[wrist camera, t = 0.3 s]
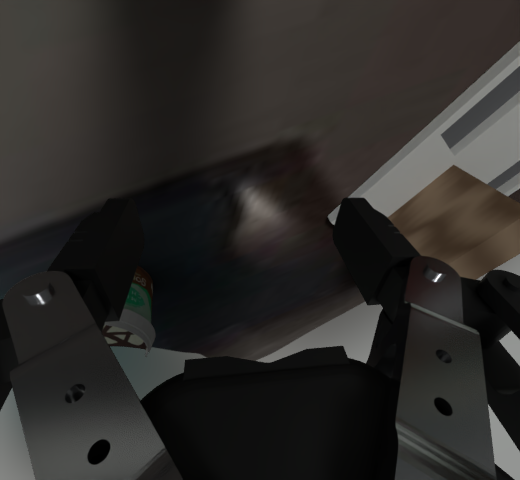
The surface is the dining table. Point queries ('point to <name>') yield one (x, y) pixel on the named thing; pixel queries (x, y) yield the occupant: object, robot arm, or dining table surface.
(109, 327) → the food container
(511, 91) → the trap lane
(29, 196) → the dining table surface
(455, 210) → the walnut block
